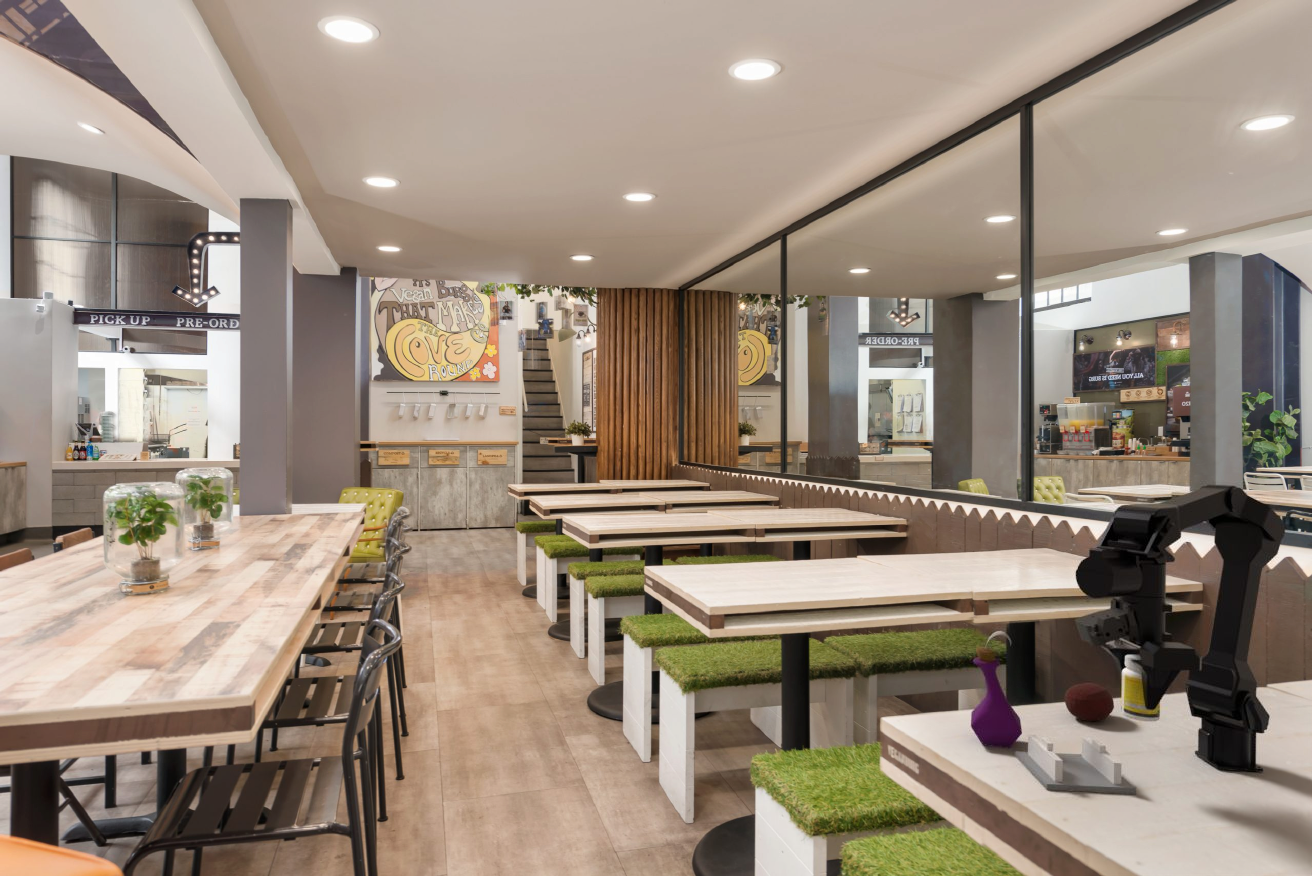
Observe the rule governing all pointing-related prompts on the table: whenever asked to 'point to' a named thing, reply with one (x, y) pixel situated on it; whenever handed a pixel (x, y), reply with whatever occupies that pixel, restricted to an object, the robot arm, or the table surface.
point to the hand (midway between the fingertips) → (1140, 703)
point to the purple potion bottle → (994, 705)
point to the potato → (1089, 701)
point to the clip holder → (1075, 767)
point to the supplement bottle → (1135, 693)
